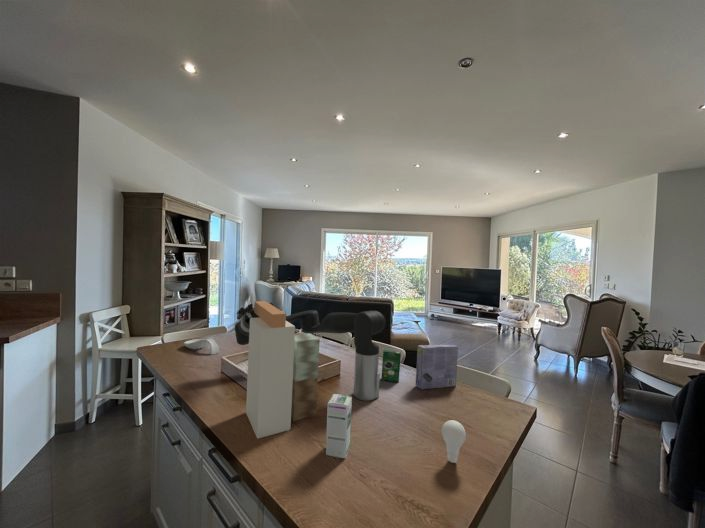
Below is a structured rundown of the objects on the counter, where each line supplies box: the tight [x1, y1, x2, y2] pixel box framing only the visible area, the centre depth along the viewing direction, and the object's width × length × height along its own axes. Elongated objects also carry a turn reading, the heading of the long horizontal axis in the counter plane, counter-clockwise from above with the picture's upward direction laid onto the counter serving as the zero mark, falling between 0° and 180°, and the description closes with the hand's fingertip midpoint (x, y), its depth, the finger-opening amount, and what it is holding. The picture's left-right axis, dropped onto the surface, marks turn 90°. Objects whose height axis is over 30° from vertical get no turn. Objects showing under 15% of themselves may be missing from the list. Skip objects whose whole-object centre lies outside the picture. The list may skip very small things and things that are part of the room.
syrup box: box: [325, 393, 353, 460], centre depth 81 cm, size 6×6×14 cm
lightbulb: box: [441, 419, 467, 464], centre depth 79 cm, size 6×6×11 cm
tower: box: [291, 333, 321, 422], centre depth 100 cm, size 8×8×26 cm
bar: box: [253, 300, 287, 328], centre depth 98 cm, size 26×4×4 cm, turn 30°
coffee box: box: [380, 349, 402, 383], centre depth 131 cm, size 8×3×13 cm, turn 79°
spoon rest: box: [183, 337, 220, 356], centre depth 160 cm, size 24×12×7 cm, turn 60°
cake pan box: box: [415, 344, 459, 390], centre depth 127 cm, size 19×5×18 cm, turn 108°
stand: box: [245, 318, 296, 439], centre depth 94 cm, size 10×16×32 cm, turn 31°
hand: (261, 305), depth 105 cm, fingers open, 6 cm apart
